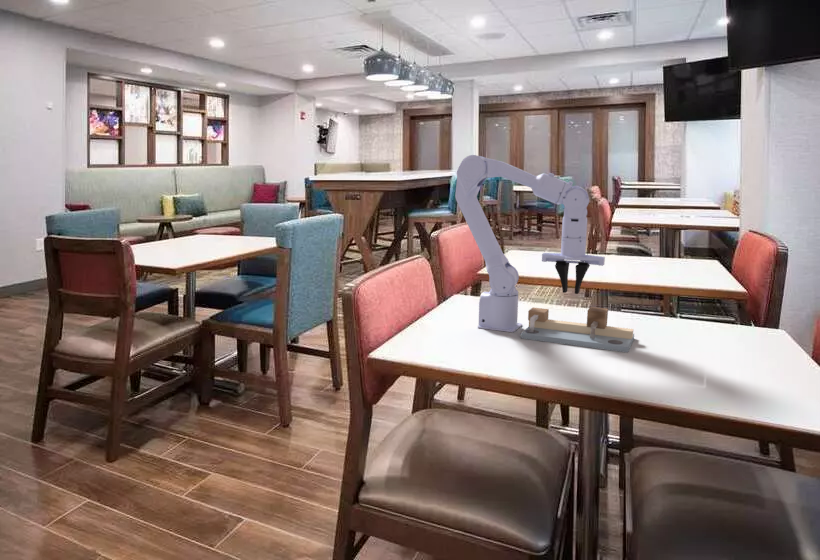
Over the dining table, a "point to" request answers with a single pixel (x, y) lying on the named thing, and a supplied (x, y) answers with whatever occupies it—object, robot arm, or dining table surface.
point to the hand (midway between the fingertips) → (570, 292)
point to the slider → (596, 319)
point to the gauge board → (575, 333)
